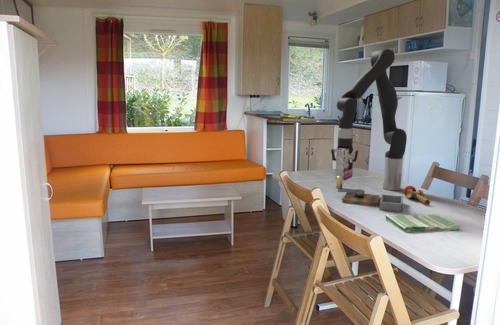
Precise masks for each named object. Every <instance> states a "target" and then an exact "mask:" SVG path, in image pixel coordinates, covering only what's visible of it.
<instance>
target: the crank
mask: <svg viewBox="0 0 500 325" xmlns="http://www.w3.org/2000/svg"><path fill="white" fill-rule="evenodd" d="M343 182H344V181H343V176H337V180H336V183H335V184H336V186H335V188H336V189H337V192H339V193H345V194H346V193H355V197H360V198H362V197H364V194H365V190H364V189H360V188H358V189H352V188H345V187H343Z"/></svg>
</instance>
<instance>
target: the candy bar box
mask: <svg viewBox="0 0 500 325" xmlns="http://www.w3.org/2000/svg"><path fill="white" fill-rule="evenodd" d="M335 149H336V152H335V158H336V161H335V180H336V181H337V176H343V182H344V181H347V180H349V179H351V178H353V171H354V170H353V168H354V167H353V168H352V169H351V170H349V168H350V160H349V158H348V152H349V148H338V149H337V148H335ZM350 155H351V157H352V159H354V152H352V153H351V154H350Z"/></svg>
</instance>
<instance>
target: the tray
mask: <svg viewBox="0 0 500 325" xmlns="http://www.w3.org/2000/svg"><path fill="white" fill-rule="evenodd" d="M379 200H380V201H379V211H384V212H385V211H386V212H388V211H389V212H395V213H403V207H404V196H403V195H402V196H401V195H395V194H394V195H393V194H392V195H391V194H385V193H384V194H381V195H380V199H379Z"/></svg>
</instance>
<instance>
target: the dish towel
mask: <svg viewBox="0 0 500 325" xmlns="http://www.w3.org/2000/svg"><path fill="white" fill-rule="evenodd" d="M384 217H385V220H386V221H387V222H389V223H391V224H392V225H394V226H395V227H397V228H398V229H400V230H401V231H402V232H404V233H419V232H422V233H423V232H444V231H445V232H446V231H448V232H449V231H457V230H459V228H461V226H460V225H458V224H456V223H453V222H451V221H449V220H448V219H445V218H444V217H442V216H440V215H438V214H435V213H434V214H433V213H432V214H425V215H424V214H423V215H421V214H419V215H394V214H384Z"/></svg>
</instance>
